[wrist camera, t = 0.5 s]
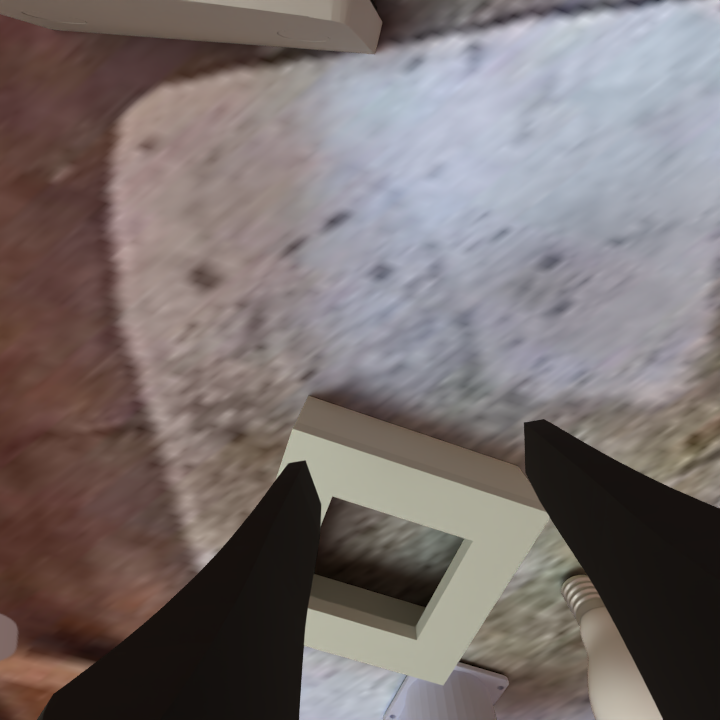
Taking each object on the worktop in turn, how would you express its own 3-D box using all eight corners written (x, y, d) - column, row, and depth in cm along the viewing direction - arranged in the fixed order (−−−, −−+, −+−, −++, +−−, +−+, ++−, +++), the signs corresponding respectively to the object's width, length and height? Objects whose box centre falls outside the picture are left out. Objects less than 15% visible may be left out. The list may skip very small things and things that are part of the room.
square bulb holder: (431, 617, 27) (443, 685, 23) (252, 563, 26) (228, 623, 22) (518, 466, 23) (552, 514, 18) (308, 395, 22) (292, 428, 17)
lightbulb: (612, 610, 26) (776, 848, 15) (529, 613, 26) (634, 847, 16) (623, 545, 24) (817, 764, 14) (534, 549, 25) (656, 764, 14)
